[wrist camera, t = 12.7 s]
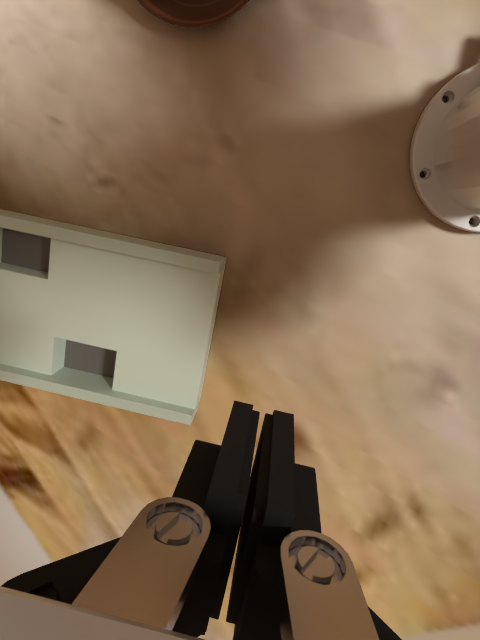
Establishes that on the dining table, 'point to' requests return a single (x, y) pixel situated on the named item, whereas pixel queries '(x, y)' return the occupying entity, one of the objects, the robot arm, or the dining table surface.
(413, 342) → the dining table surface
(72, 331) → the trap board
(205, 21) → the cup and saucer
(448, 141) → the robot arm
